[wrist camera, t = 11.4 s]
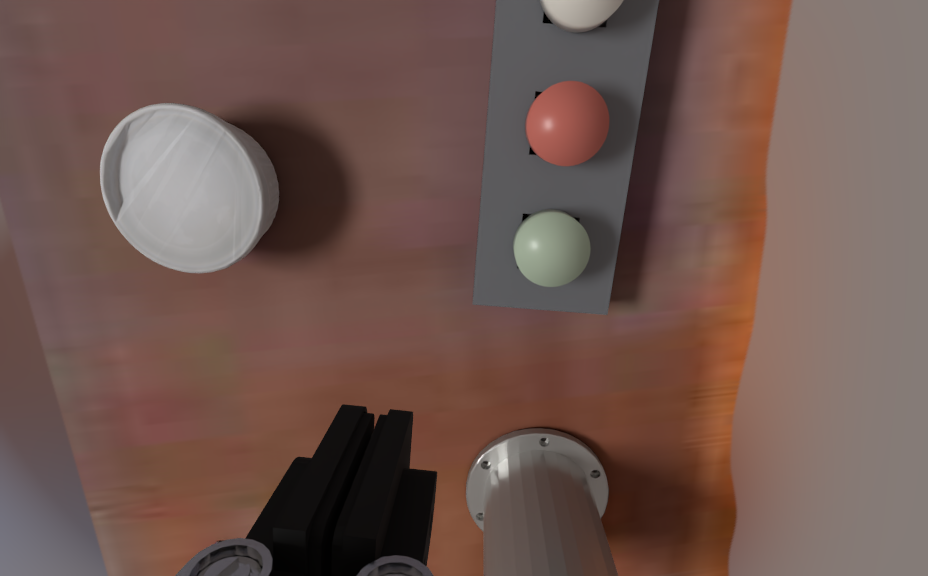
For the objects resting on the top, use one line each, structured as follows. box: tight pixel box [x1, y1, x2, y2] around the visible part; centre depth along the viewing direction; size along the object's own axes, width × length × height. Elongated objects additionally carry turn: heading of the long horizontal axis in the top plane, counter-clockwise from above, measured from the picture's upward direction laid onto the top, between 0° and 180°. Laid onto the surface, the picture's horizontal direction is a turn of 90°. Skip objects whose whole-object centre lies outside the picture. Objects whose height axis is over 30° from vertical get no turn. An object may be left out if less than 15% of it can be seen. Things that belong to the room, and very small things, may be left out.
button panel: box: [473, 0, 659, 315], centre depth 34 cm, size 26×10×3 cm, turn 176°
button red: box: [525, 81, 609, 166], centre depth 33 cm, size 5×5×5 cm
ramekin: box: [100, 103, 279, 273], centre depth 35 cm, size 11×11×5 cm
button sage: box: [513, 209, 591, 287], centre depth 35 cm, size 5×5×5 cm
